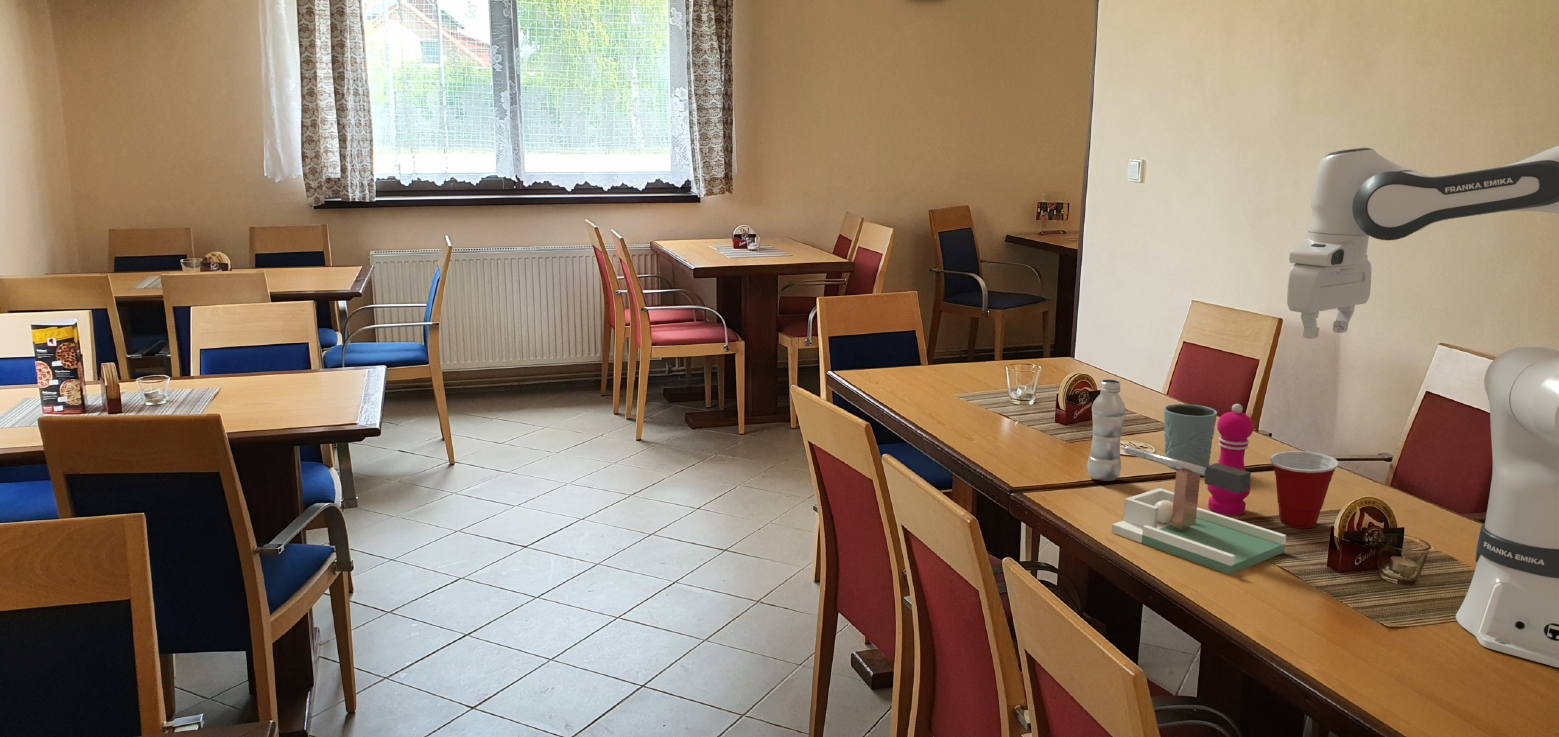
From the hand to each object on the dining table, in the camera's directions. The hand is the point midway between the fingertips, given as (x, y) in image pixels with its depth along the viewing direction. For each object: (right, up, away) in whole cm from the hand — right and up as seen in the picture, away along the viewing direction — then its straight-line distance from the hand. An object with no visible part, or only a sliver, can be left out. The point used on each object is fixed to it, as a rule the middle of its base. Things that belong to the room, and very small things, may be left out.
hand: (1325, 335), depth 175 cm
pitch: (-19, -35, +5) cm, 40 cm away
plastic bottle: (-25, -28, +37) cm, 53 cm away
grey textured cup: (-5, -26, +47) cm, 54 cm away
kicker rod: (-22, -32, +7) cm, 39 cm away
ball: (-23, -30, +9) cm, 39 cm away
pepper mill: (-8, -32, +21) cm, 38 cm away
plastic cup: (+2, -33, +14) cm, 36 cm away
